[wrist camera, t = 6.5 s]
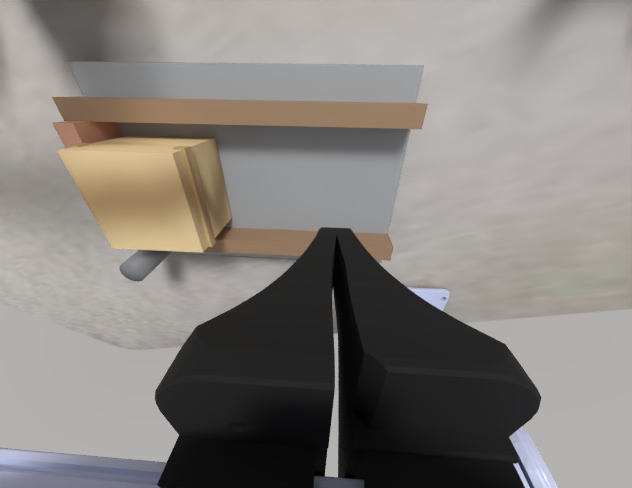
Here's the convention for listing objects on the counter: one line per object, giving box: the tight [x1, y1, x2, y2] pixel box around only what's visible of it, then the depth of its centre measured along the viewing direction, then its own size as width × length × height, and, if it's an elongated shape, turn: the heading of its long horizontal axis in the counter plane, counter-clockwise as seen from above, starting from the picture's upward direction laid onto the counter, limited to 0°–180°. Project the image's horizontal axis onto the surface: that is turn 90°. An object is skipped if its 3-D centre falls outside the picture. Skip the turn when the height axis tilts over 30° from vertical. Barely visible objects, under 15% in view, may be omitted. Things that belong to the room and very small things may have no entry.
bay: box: [52, 61, 428, 281], centre depth 16 cm, size 14×21×5 cm, turn 89°
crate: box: [57, 136, 232, 253], centre depth 15 cm, size 6×6×5 cm
